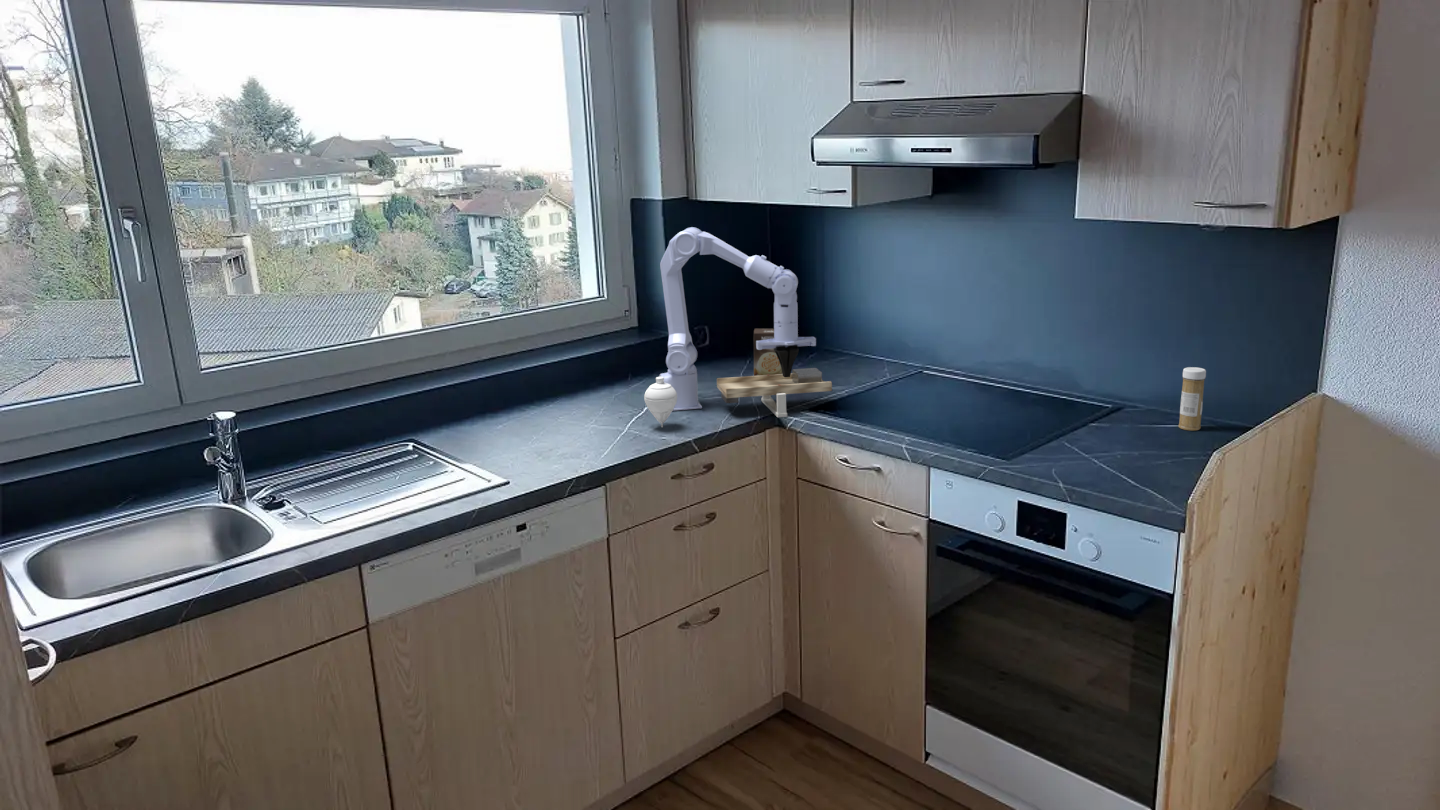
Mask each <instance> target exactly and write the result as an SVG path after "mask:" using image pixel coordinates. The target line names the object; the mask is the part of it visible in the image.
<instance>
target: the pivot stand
mask: <svg viewBox="0 0 1440 810" xmlns="http://www.w3.org/2000/svg"><path fill="white" fill-rule="evenodd" d="M760 399H761V400H760V401H761V403H763V404H764V406H766V407H767V409H769V410H770V411H771V413H773V414H774V416H776V417H777V418H787V417H788V412H787V394H785V393H778V394H777V395H776V401H775V400H774V398H772V395H766V396H761V398H760Z"/></svg>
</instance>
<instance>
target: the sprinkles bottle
mask: <svg viewBox="0 0 1440 810" xmlns="http://www.w3.org/2000/svg"><path fill="white" fill-rule="evenodd" d="M1206 378H1207V370H1206V369H1205V368H1202V367H1195V366H1194V367H1193V366H1192V367H1191V366H1188V367H1184V368H1183V370H1182V388H1181V397H1180V407H1179V423H1178V428H1179V429H1181V430H1184V431H1199V430H1200V429H1201V428H1202V426H1201V422H1202V415H1203V414H1202V413H1203V403H1204V400H1203V399H1204V389H1205V380H1206Z"/></svg>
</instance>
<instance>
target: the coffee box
mask: <svg viewBox="0 0 1440 810" xmlns="http://www.w3.org/2000/svg"><path fill="white" fill-rule="evenodd" d="M773 338H774V328H754V330H753V376H759V375H768V374H769V375H775V374H783V373H782V369H781V365H780V362H779V359H778V357H777V355H776V353H775V351H774V348H770V349H762V350H758V349H756V341H759V340H767V339H773Z"/></svg>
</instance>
